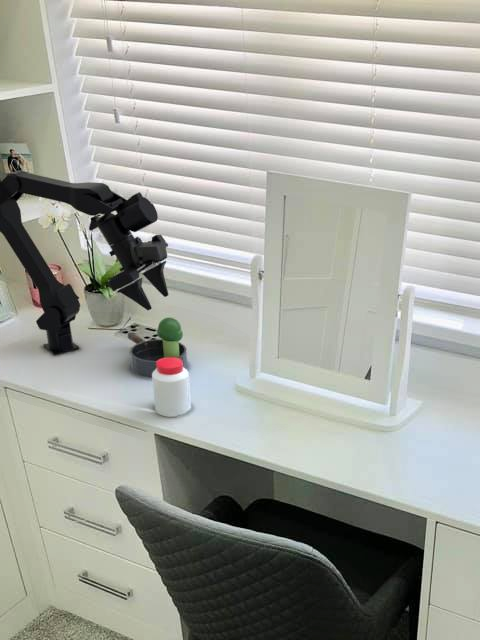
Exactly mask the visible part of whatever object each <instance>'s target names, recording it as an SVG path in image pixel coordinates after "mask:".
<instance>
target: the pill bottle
mask: <svg viewBox="0 0 480 640" xmlns="http://www.w3.org/2000/svg"><path fill="white" fill-rule="evenodd" d="M156 365H157V368H156V369H155V370H154V371H153V373H152V378H151V380H152V382H151V383H152V388H153V389H152V391H153V401H154V403H153V404H154V409H155V410H154V411H155V412H156V414H158V415H160V416H163V417H168V418H174V417H176V418H177V417H181V416H182V415H183V414H185V413H187V412H189V411H190V410H191V408H192V399H191V398H192V397H191V384H190V383H191V381H190V373H189V372H190V371H189V370H188V369H187V368H186V369H185V368H184V367H183V361H182V360H181V359H179V358H175V357H166V358H162V359H159V360H158V361H157V362H156Z"/></svg>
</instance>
